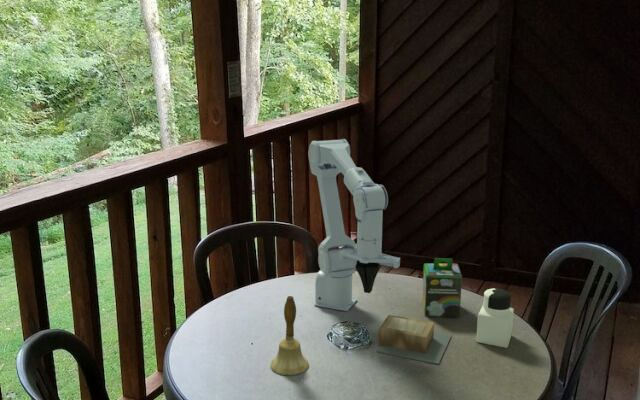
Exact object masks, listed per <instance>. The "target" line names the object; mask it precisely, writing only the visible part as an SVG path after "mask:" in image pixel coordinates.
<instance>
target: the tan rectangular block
mask: <svg viewBox="0 0 640 400" xmlns="http://www.w3.org/2000/svg"><path fill="white" fill-rule="evenodd" d="M434 331H435V322H434V321H433V322H432V321H426V320H423V319H422V320H421V319H416V318H412V317H411V318H410V317H406V316H405V317H404V316H399V315H393V314H388V315H387V317H386V318H385V319H384V321H383V322H382V323H381V325H380V326H379V328H378V338H377V339H378V345H379V346H380V345H384V346H389V347H394V348H399V349H404V350H409V351H414V352H419V353H424V354H426V352H427V350H428V348H429V346H430V344H431V342H432V340H433V336H434V333H435V332H434Z"/></svg>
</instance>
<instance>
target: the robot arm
mask: <svg viewBox="0 0 640 400" xmlns="http://www.w3.org/2000/svg"><path fill="white" fill-rule="evenodd" d="M310 142H311V143H310V144H309V147H308V151H307V152H308V153H307V155H308V162H309V167H310V168H309V169H310V172H311V175H314V176H315V177H316V179H317V185H318V189H319V190H318V191H319V198H320V202H321V203H320V204H321V210H322V217H323V222H324V227H325V233H326V238H324V240H322V242H320V243H319V245H318V248H317V253H318V258H317V262H318V266H319V269H320V270H318V272H317V274H316V277H315V285H314V286H315V293H314V294H315V300H314V301H315V303H313V305H314V306H316V307H320V308H321V307H322V308H327V309H332V310H337V311H338V310H339V311H342V312H343V311H344V312H348V311H349V310H350V309H351V308H352V307H353V306H354V305H355V303H356V302H357V301H358V299H357V298H356V297H353V274H355V271H356V272H357V273H358V275H359V278H360V280H361V281H360V282H361V284H362V287H363V292H364V293H366V294H370V293H371V292H372V291H373V287H374V283H375V280H376V278H377V275H378V273H379V271H380V268H381V267H382V266H387V267H392V268H393V269H398V268H399V267H400V265H401V257H397V256H392V255H389V254H386V253H383V252H382V249H383V248H382V245H383V243H382V242H383V212H384V211H383V210H386V209H387V207H388V204H389V195H388V192H387V190H386V187H385V186H384V185H383V184H378V183H375V182H374V181H373V179H372V178H371V177H370V176H369V174H368V173H367V171H366V170H364V169H363V167H358V166H357V165H356V163H355V162H354V160H353V158H352V157H351V145H350V144H349V142H348V141H347V139H345V138H341V139H331V140H330V139H329V140H312V141H310ZM339 174H342V175H343V176H344V177H343V183H344V185H345V186H346V188H347V190H348V191H349V192H350V194H351V195H352V196H353V198H352V199H353V205H354V210H355V214H354V215H355V218H356V219H357V232H356V233H357V234H356V235H357V236H356V237H357V238H356V242H357V243H356V242H355V240H354V239H353V238H351V237H349V236H348V235H346V231H345V226H344V219H343V214H342V208H341V201H340V196H339V195H340V194H339V189H338V184H337V175H339Z"/></svg>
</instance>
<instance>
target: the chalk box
mask: <svg viewBox="0 0 640 400" xmlns="http://www.w3.org/2000/svg"><path fill="white" fill-rule="evenodd" d="M422 274H423V278H422V279H423V280H422V282H423V284H422V306H423V312H424V316H425V317H443V318H458V319H459V318H460V317H461V301H462V281H463V275H462V273H461V269H460V266H459V264H458V263H454V262H453V258H451V257H450V258H447V257H446V258H445V257H443V258H441V257H435V258H434V260H433V263H432V262H431V263H426V262H425V263H423V273H422Z"/></svg>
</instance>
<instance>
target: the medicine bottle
mask: <svg viewBox="0 0 640 400" xmlns="http://www.w3.org/2000/svg"><path fill="white" fill-rule="evenodd" d="M511 303H512V295H511V293H510V292H509V291H507V290H505V289H501V288H496V287H495V288H489V289H488V288H487V289H486V290H485V291H484V292H483V303H482V306H481V308H480V310H479V312H478V315H477V323H476V324H477V326H476V337H475V338H476V339H475V341H476V342H477V343H479V344H484V345H490V346H495V347H499V348H504V349H507V348H508V347H509V345H510V341H511V338H512V335H513V322H514V315H515V314H514V311H515V310H514V307H511Z"/></svg>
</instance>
